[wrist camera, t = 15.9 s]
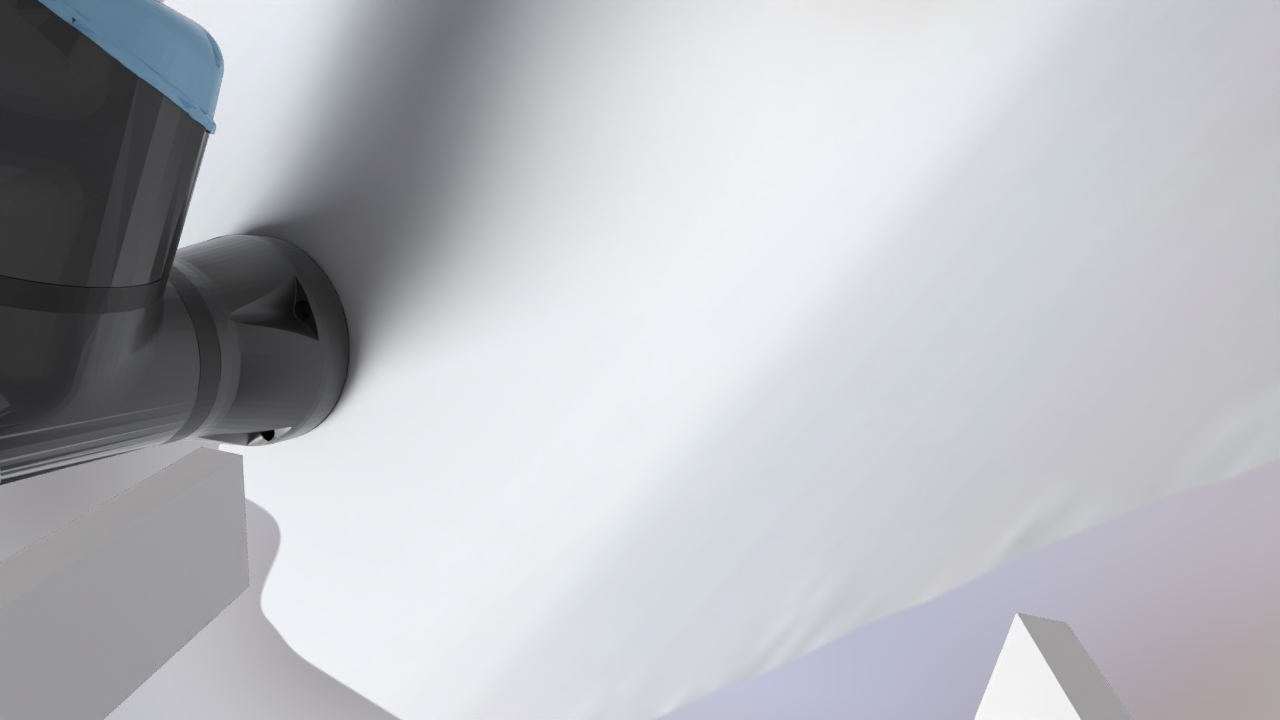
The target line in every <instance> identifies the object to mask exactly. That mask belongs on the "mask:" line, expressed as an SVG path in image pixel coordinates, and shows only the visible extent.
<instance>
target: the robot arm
mask: <svg viewBox="0 0 1280 720" xmlns="http://www.w3.org/2000/svg"><path fill="white" fill-rule="evenodd" d="M223 72H224V61H223V56H222V53H221V50H220V48H219V46H218V44H217V43H216V41H215V40H214V38H213V37H212V36H211V35H210V34H209V33H208V32H207V31H206V30H205V29H204V28H203V27H202V26H200V25H199V24H197V23H196V22H194V21H193V20H191V19H189V18H188V17H186V16H184V15H182V14H180V13H179V12H177V11H175V10H173V9H171V8H170V7H168V6H166V5H164V4H162V3H161V2H159V1H157V0H0V485H3V484H7V483H11V482H15V481H19V480H22V479H27V478H30V477H35V476H38V475H43V474H47V473H51V472H54V471H59V470H63V469H67V468H70V467H75V466H79V465H82V464H86V463H90V462H94V461H98V460H102V459H106V458H110V457H114V456H118V455H122V454H126V453H130V452H134V451H138V450H142V449H146V448H150V447H154V446H158V445H162V444H166V443H171V442H175V441H179V440H188V441H199V442H211V443H221V444H233V445H244V446H261V445H269V444H273V443H277V442H281V441H284V440H288V439H292V438H295V437H298V436H301V435H303V434H305V433H307V432H309V431H310V430H312V429H314V428H315V427H316V426H317V425H319V424H320V423H321V422H322V421H323V420H324V419H325V418H326V416H327V415H328V414H329V413H330V411H331V410H332V408H333V407H334V405H335V403H336V402H337V400H338V398H339V395H340V393H341V391H342V388H343V385H344V381H345V378H346V373H347V367H348V357H349V342H348V331H347V325H346V321H345V316H344V313H343V309H342V306H341V303H340V301H339V298H338V296H337V294H336V292H335V290H334V288H333V286H332V284H331V282H330V281H329V279H328V278H327V276H326V275H325V273H324V272H323V271H322V269H321V268H320V267H319V266H318V265H317V263H316V262H315V261H314V260H313V259H312V258H311V257H310V256H308V255H307V254H306V253H305V252H303V251H302V250H301V249H299V248H298V247H296V246H294V245H293V244H290V243H288V242H286V241H284V240H281V239H278V238H274V237H268V236H255V235H227V236H221V237H217V238H213V239H210V240H207V241H204V242H201V243H197V244H194V245H190V246H187V247H183V248H180V249H177V248H178V244H179V241H180V237H181V233H182V230H183V226H184V223H185V219H186V216H187V212H188V209H189V205H190V202H191V198H192V194H193V191H194V187H195V184H196V180H197V177H198V173H199V170H200V166H201V163H202V159H203V156H204V152H205V148H206V145H207V141H208V138H209V134H214V133H215V130H216V124H215V123H214V121H213V117H214V113H215V109H216V104H217V100H218V95H219V91H220V87H221V82H222V78H223ZM247 553H248V552H247V532H246V513H245V494H244V475H243V456H242V455H239V454H234V453H229V452H224V451H219V450H214V449H209V448H204V447H201V448H199V449H197V450H195V451H194V452H192V453H191V454H188V455H187V456H185V457H183V458H182V459H180V460H178V461H176V462H174V463H173V464H171V465H169V466H167V467H166V468H164V469H162V470H160V471H159V472H157V473H155V474H153V475H152V476H150V477H148V478H146V479H144V480H143V481H141V482H139V483H137V484H136V485H134V486H132V487H131V488H129V489H127V490H125V491H124V492H122V493H120V494H118V495H116V496H115V497H113V498H111V499H109V500H108V501H106V502H104V503H103V504H101V505H99V506H97V507H95V508H94V509H92V510H90V511H88V512H87V513H85V514H83V515H81V516H80V517H78V518H76V519H74V520H73V521H71V522H69V523H67V524H66V525H64V526H62V527H60V528H58V529H57V530H55V531H53V532H51V533H50V534H48V535H46V536H44V537H43V538H41V539H39V540H37V541H36V542H34V543H32V544H31V545H29V546H27V547H25V548H24V549H22V550H20V551H18V552H16V553H15V554H13V555H11V556H10V557H8V558H6V559H4V560H2V561H1V562H0V720H104V719H105V718H106V717H107V716H108V715H109V714H110V713H111V712H112V711H113V710H114V709H116V708H117V707H118V706H119V705H120V704H121V703H122V702H123V701H124V700H125V699H127V698H128V697H129V696H130V695H131V694H132V693H133V692H134V691H135V690H136V689H138V688H139V687H140V686H141V685H142V684H143V683H144V682H145V681H146V680H147V679H149V678H150V677H151V676H152V675H153V674H154V673H155V672H156V671H157V670H158V669H159V668H161V667H162V666H163V665H164V664H165V663H166V662H167V661H168V660H169V659H170V658H172V656H174V655H175V654H176V653H177V652H178V651H179V650H180V649H181V648H182V647H184V645H186V644H187V643H188V642H189V641H190V640H191V639H192V638H193V637H194V636H196V635H197V634H198V633H199V632H200V631H201V630H202V629H203V628H204V627H205V626H206V625H208V624H209V623H210V622H211V621H212V620H213V619H214V618H215V617H216V616H218V615H219V614H220V613H221V612H222V611H223V610H224V609H225V608H226V607H227V606H228V605H230V604H231V603H232V602H233V601H234V600H235V599H236V598H237V597H238V596H239V595H241V594H242V593H243V592H244V591H245V590H246V589H247V588H248V587H249V570H248V554H247ZM974 720H1133V718H1132V717H1131V715H1130V714H1129V712H1128V711H1127V709H1126V708H1125V706H1124V705H1123V704H1122V702H1121V701H1120V699H1119V698H1118V696H1117V695H1116V693H1115V692H1114V691H1113V689H1112V688H1111V686H1110V685H1109V683H1108V682H1107V680H1106V679H1105V677H1104V676H1103V675H1102V673H1101V672H1100V670H1099V669H1098V667H1097V666H1096V665H1095V663H1094V662H1093V660H1092V659H1091V657H1090V656H1089V654H1088V653H1087V651H1086V650H1085V649H1084V647H1083V646H1082V644H1081V643H1080V641H1079V640H1078V638H1077V637H1076V636H1075V634H1074V633H1073V631H1072V630H1071V628H1070V627H1069V625H1068V624H1067V623H1065V622H1060V621H1055V620H1050V619H1045V618H1041V617H1036V616H1030V615H1026V614H1021V613H1016V616H1015V618H1014V621H1013V623H1012V626H1011V629H1010V631H1009V633H1008V636H1007V638H1006V641H1005V643H1004V647H1003V648H1002V651H1001V654H1000V656H999V659H998V661H997V664H996V666H995V669H994V671H993V674H992V676H991V679H990V681H989V684H988V686H987V689H986V691H985V694H984V697H983V699H982V701H981V704H980V707H979V709H978V711H977V714H976V717H975V719H974Z"/></svg>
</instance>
